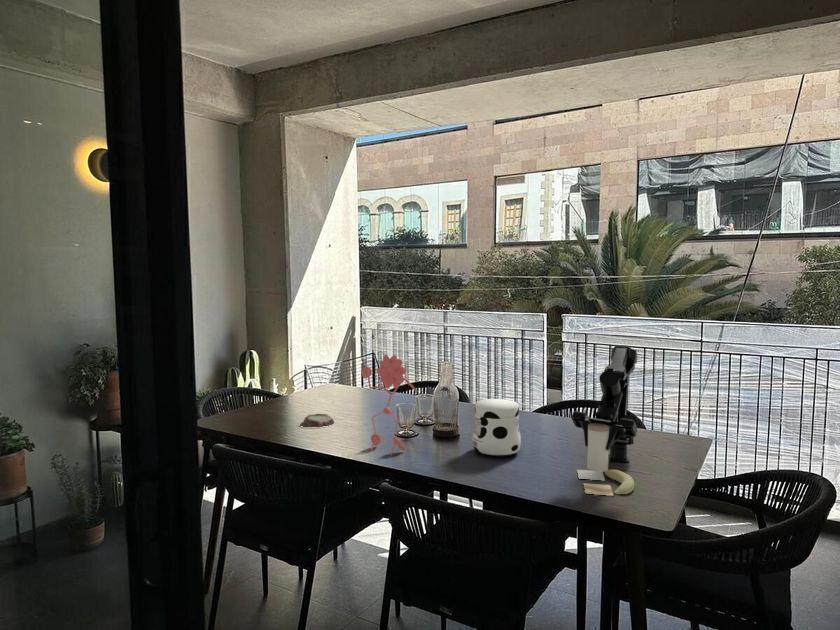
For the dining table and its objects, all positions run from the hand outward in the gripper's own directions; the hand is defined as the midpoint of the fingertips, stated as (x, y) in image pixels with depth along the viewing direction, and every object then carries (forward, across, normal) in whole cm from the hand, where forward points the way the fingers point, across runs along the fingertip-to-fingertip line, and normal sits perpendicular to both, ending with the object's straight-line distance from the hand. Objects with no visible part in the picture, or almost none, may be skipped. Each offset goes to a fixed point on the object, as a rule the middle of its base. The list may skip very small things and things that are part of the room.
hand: (596, 447), depth 175 cm
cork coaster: (+8, 0, -10) cm, 13 cm away
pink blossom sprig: (+12, +75, -7) cm, 76 cm away
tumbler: (+4, 0, -6) cm, 7 cm away
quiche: (+8, +122, -13) cm, 123 cm away
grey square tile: (+1, +6, -18) cm, 19 cm away
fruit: (+3, -4, -16) cm, 17 cm away
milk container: (-1, +42, -20) cm, 46 cm away
